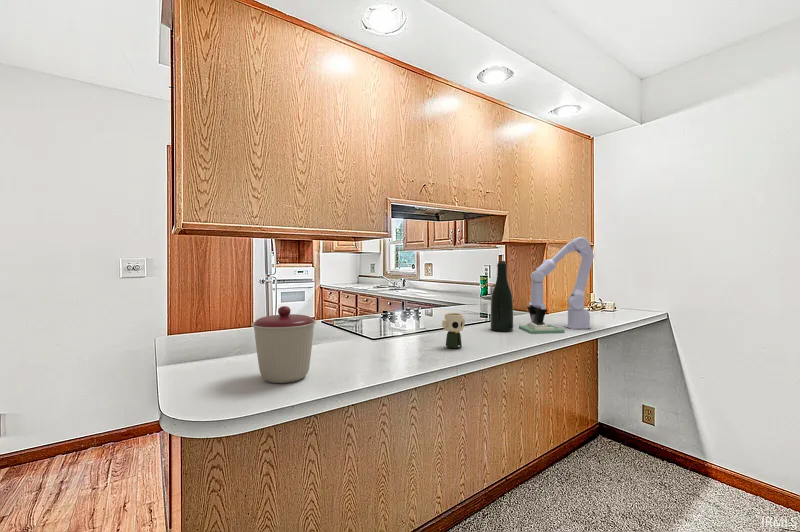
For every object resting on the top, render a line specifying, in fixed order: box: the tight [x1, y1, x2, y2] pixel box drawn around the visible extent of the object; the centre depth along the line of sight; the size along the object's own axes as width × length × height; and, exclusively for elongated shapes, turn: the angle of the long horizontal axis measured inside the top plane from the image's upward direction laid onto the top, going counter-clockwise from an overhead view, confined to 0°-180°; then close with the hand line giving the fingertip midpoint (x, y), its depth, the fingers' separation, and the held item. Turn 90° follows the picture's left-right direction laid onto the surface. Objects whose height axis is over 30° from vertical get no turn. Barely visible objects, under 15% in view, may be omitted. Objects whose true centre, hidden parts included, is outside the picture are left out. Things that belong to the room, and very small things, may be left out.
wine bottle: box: [489, 260, 514, 333], centre depth 194 cm, size 10×10×33 cm
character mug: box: [441, 312, 466, 349], centre depth 158 cm, size 11×7×13 cm, turn 122°
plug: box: [530, 314, 546, 325], centre depth 204 cm, size 6×4×6 cm, turn 96°
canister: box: [251, 305, 317, 384], centre depth 119 cm, size 18×18×21 cm
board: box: [518, 321, 566, 335], centre depth 193 cm, size 16×14×4 cm
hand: (536, 321), depth 204 cm, fingers open, 7 cm apart
